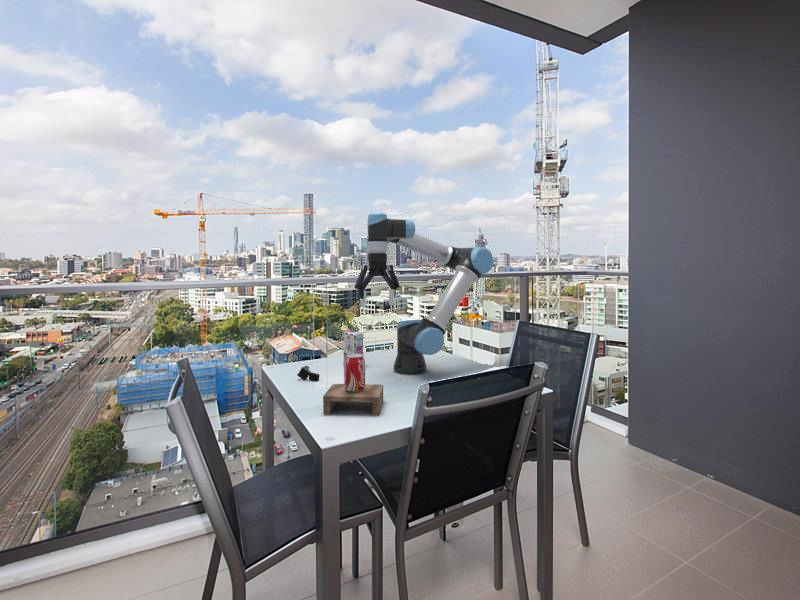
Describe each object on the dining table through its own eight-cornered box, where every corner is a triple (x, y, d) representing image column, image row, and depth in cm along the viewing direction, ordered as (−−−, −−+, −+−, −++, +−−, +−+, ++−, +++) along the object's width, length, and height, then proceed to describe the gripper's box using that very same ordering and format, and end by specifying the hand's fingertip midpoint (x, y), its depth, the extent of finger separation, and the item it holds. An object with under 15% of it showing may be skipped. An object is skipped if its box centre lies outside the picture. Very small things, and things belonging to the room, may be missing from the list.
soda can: (356, 394, 132) (356, 358, 131) (340, 391, 136) (339, 355, 135) (369, 388, 138) (369, 354, 137) (353, 385, 142) (352, 351, 141)
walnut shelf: (383, 401, 144) (383, 384, 143) (378, 415, 130) (378, 397, 130) (333, 400, 145) (332, 383, 145) (323, 414, 131) (323, 396, 131)
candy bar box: (364, 368, 190) (363, 333, 188) (355, 370, 187) (354, 335, 185) (352, 364, 199) (351, 330, 197) (343, 365, 196) (342, 331, 194)
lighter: (315, 385, 172) (322, 375, 171) (313, 387, 169) (320, 376, 168) (299, 373, 173) (305, 363, 172) (296, 375, 171) (303, 364, 170)
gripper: (396, 253, 171) (397, 303, 173) (345, 252, 156) (346, 307, 158) (408, 252, 165) (408, 304, 167) (355, 251, 150) (356, 309, 152)
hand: (378, 306), depth 162 cm, fingers open, 13 cm apart
